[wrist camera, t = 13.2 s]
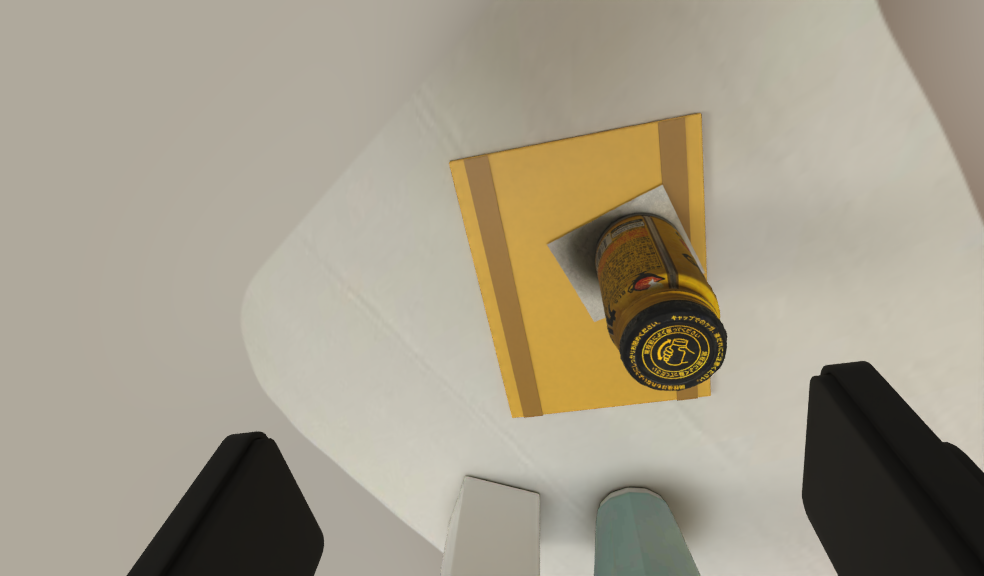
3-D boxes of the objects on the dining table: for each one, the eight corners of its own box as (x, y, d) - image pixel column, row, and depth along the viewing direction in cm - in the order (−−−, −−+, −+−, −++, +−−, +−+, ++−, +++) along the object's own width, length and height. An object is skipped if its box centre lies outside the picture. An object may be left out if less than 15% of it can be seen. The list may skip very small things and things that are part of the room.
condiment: (704, 271, 38) (766, 378, 27) (594, 320, 40) (611, 435, 30) (661, 183, 35) (711, 263, 24) (546, 242, 38) (546, 337, 27)
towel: (449, 160, 36) (448, 163, 35) (699, 112, 33) (702, 114, 33) (512, 414, 46) (512, 419, 45) (709, 392, 43) (711, 396, 43)
